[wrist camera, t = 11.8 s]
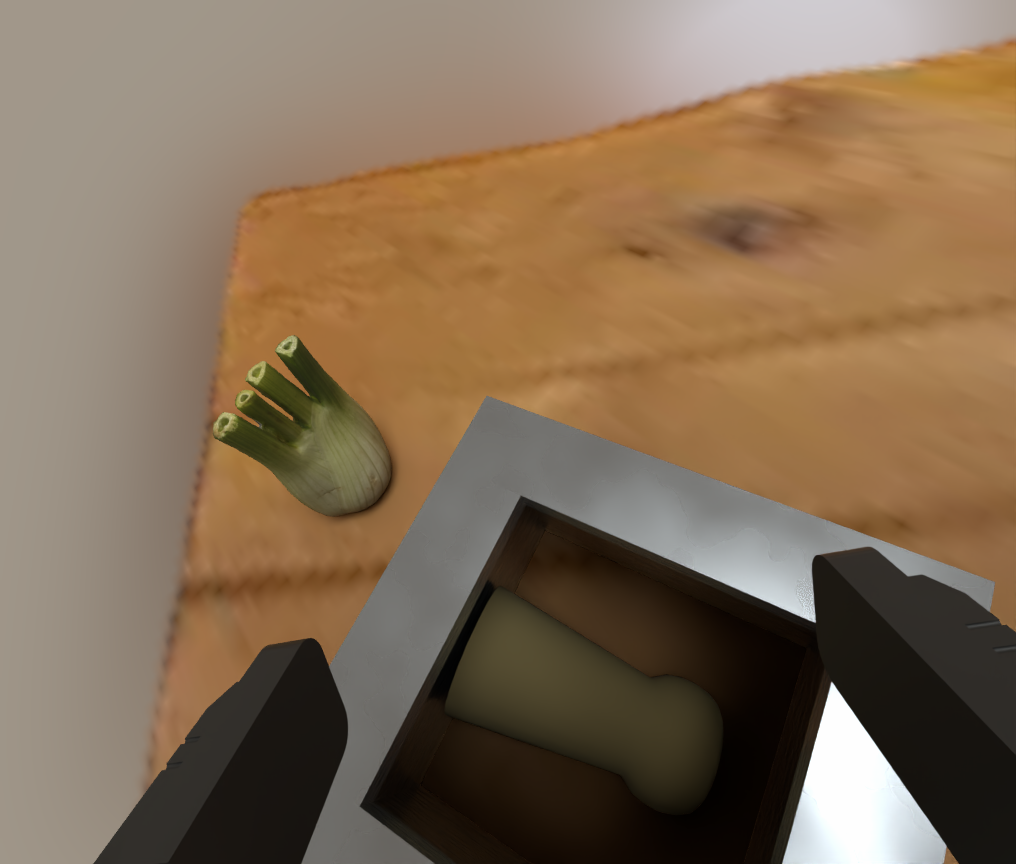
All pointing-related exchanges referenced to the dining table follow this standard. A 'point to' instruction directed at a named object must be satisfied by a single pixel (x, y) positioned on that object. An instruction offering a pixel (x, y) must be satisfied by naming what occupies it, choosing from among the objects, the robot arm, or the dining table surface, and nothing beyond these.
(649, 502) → the drop box
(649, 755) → the cork
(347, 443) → the fennel bulb
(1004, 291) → the dining table surface
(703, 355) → the dining table surface
